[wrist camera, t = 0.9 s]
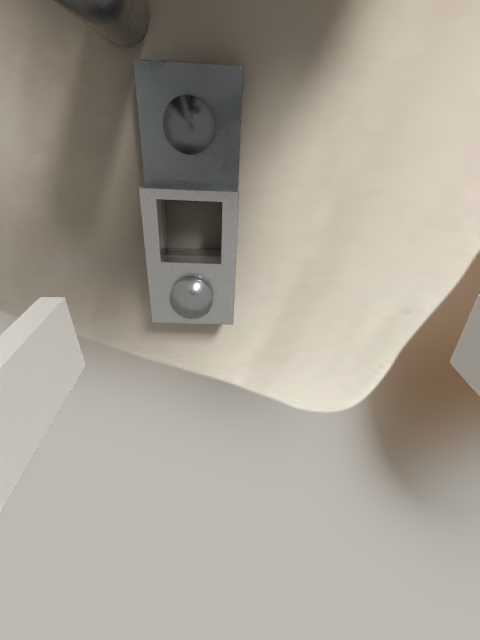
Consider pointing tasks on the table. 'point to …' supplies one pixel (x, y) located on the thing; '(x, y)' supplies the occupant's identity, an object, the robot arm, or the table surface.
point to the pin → (113, 18)
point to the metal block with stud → (189, 182)
